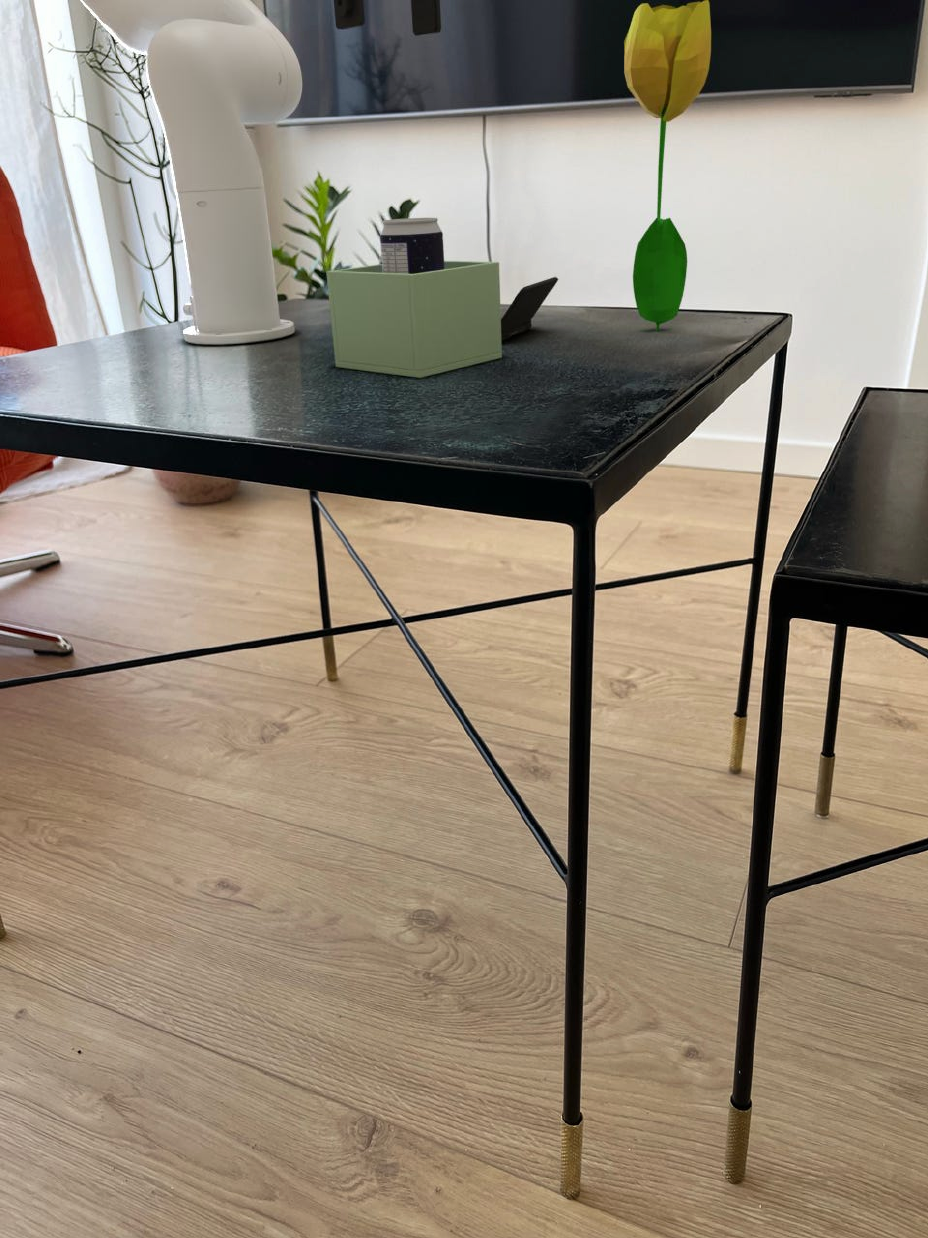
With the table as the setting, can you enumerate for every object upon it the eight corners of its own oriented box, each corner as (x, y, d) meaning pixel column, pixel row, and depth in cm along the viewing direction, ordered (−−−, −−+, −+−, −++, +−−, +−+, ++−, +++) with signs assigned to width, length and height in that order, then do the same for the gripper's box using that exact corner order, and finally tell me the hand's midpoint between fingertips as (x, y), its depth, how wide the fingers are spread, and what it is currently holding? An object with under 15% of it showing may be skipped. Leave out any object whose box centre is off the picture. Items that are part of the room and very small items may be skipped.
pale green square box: (335, 367, 93) (326, 271, 89) (418, 348, 100) (412, 259, 97) (419, 378, 86) (413, 274, 82) (502, 357, 93) (499, 261, 90)
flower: (617, 325, 108) (622, 9, 96) (691, 323, 107) (707, 3, 95) (620, 337, 101) (627, -5, 88) (700, 335, 100) (719, -12, 87)
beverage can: (441, 360, 90) (433, 219, 85) (381, 361, 91) (370, 222, 86) (454, 350, 95) (447, 216, 90) (397, 351, 96) (388, 218, 91)
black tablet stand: (463, 311, 111) (512, 237, 106) (514, 350, 112) (566, 278, 107) (437, 343, 102) (489, 263, 96) (492, 384, 103) (548, 308, 97)
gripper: (414, -173, 91) (426, 40, 98) (264, -216, 79) (289, 30, 86) (475, -195, 86) (483, 31, 93) (325, -244, 74) (346, 18, 81)
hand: (390, 30), depth 90 cm, fingers open, 9 cm apart
